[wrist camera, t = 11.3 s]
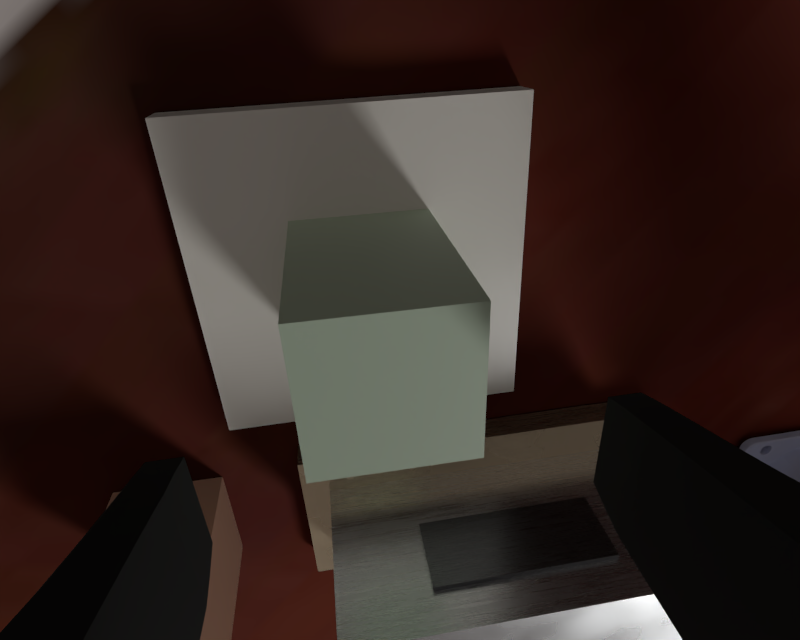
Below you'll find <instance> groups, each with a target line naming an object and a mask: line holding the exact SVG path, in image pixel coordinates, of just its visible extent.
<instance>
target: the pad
mask: <svg viewBox="0 0 800 640" xmlns="http://www.w3.org/2000/svg"><path fill="white" fill-rule="evenodd" d="M533 95H534V89H530V88H526V87H522V86H515V87H501V88H487V89H474V90H460V91H446V92H432V93H419V94H405V95H391V96H378V97H364V98H350V99H337V100H323V101H309V102H295V103H282V104H268V105H254V106H241V107H227V108H213V109H199V110H186V111H172V112H158V113H154V114H152V115H150V116H148V117H146V118H145V121H146V124H147V128H148V132H149V135H150V139H151V143H152V146H153V150H154V154H155V158H156V161H157V165H158V169H159V172H160V176H161V180H162V183H163V187H164V191H165V195H166V198H167V202H168V206H169V209H170V213H171V217H172V220H173V224H174V228H175V232H176V235H177V239H178V243H179V246H180V250H181V254H182V257H183V261H184V265H185V269H186V272H187V276H188V280H189V283H190V287H191V291H192V294H193V298H194V302H195V306H196V309H197V313H198V317H199V320H200V324H201V328H202V331H203V335H204V339H205V343H206V346H207V350H208V354H209V357H210V361H211V365H212V369H213V372H214V376H215V380H216V383H217V387H218V391H219V394H220V398H221V402H222V406H223V409H224V413H225V417H226V420H227V424H228V428H229V430H236V429H244V428H251V427H258V426H265V425H273V424H280V423H287V422H294V421H295V417H294V411H293V405H292V400H291V394H290V389H289V383H288V377H287V372H286V366H285V361H284V355H283V350H282V344H281V338H280V333H279V327H278V320H279V309H280V299H281V289H282V279H283V269H284V259H285V248H286V238H287V228H288V221H295V220H306V219H317V218H329V217H340V216H351V215H362V214H373V213H385V212H396V211H407V210H418V209H429V210H430V212H431V213H432V215H433V216H434V218H435V219H436V221H437V222H438V224H439V225H440V226H441V228H442V229H443V231H444V232H445V234H446V235H447V237H448V238H449V240H450V241H451V243H452V244H453V246H454V247H455V249H456V250H457V251H458V253H459V254H460V256H461V257H462V259H463V260H464V262H465V263H466V265H467V266H468V268H469V269H470V271H471V272H472V273H473V275H474V276H475V278H476V279H477V281H478V282H479V284H480V285H481V287H482V288H483V290H484V291H485V293H486V294H487V296H488V297H489V298H490V300H491V314H490V336H489V358H488V379H487V395H490V394H497V393H504V392H512V391H514V379H515V364H516V349H517V334H518V319H519V304H520V289H521V274H522V259H523V244H524V229H525V214H526V200H527V185H528V170H529V155H530V140H531V125H532V110H533Z"/></svg>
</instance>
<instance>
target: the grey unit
mask: <svg viewBox="0 0 800 640" xmlns="http://www.w3.org/2000/svg"><path fill="white" fill-rule="evenodd" d="M606 407H607V402H604V403H597V404H590V405H583V406H577V407H570V408H563V409H556V410H549V411H542V412H535V413H528V414H521V415H514V416H507V417H500V418H493V419H486V423H485V445H484V458H479V459H472V460H465V461H458V462H451V463H444V464H437V465H430V466H423V467H417V468H410V469H403V470H396V471H389V472H382V473H375V474H368V475H362V476H355V477H348V478H341V479H334V480H327V481H320V482H313V483H306V478H305V473H304V467H303V461H302V456H301V450H300V446H298V459H297V466H298V471H299V476H300V481H301V486H302V491H303V496H304V502H305V507H306V512H307V517H308V522H309V527H310V532H311V537H312V542H313V547H314V552H315V557H316V562H317V568H318V572H319V571H325V570H331V569H334V584H335V604H336V624H337V640H682V638H681V636H680V635H679V633H678V632H677V630H676V628H675V627H674V625H673V624H672V622H671V621H670V619H669V617H668V616H667V614H666V613H665V611H664V609H663V608H662V606H661V605H660V603H659V601H658V600H657V598H656V597H655V595H654V593H653V592H652V590H651V589H650V587H649V585H648V584H647V582H646V581H645V579H644V577H643V576H642V574H641V573H640V571H639V569H638V568H637V566H636V564H635V563H634V561H633V560H632V558H631V556H630V555H629V553H628V551H627V550H626V548H625V546H624V545H623V543H622V541H621V540H620V538H619V536H618V534H617V532H616V530H615V528H614V526H613V524H612V522H611V520H610V518H609V516H608V514H607V512H606V510H605V507H604V505H603V503H602V501H601V498H600V496H599V494H598V492H597V489H596V487H595V485H594V483H593V481H594V475H595V469H596V464H597V458H598V452H599V447H600V441H601V435H602V429H603V424H604V418H605V412H606Z"/></svg>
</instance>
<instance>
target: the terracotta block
mask: <svg viewBox="0 0 800 640" xmlns="http://www.w3.org/2000/svg"><path fill="white" fill-rule="evenodd" d="M192 482H193V485H194V488H195V491H196V494H197V497H198V500H199V503H200V506H201V509H202V512H203V515H204V518H205V521H206V524H207V527H208V530H209V533H210V536H211V539H212V542H213V546H212V558H211V570H210V581H209V590H208V600H207V608H206V613H205V618H204V623H203V628H202V632H201V637H200V640H231V636H232V628H233V620H234V612H235V604H236V596H237V588H238V580H239V572H240V564H241V556H242V548H243V546H242V542H241V539H240V535H239V532H238V528H237V525H236V521H235V518H234V515H233V511H232V508H231V504H230V501H229V497H228V494H227V490H226V487H225V484H224V480H223V477H218V478H211V479H204V480H197V481H192ZM119 493H120V492H114V493H112V496H111V498H110V501H109V503H108V505H107V508H108V506H109V505H110V504H111V503H112V502H113V500H114V499H115V498H116V497H117V495H118V494H119ZM107 508H106V509H107Z"/></svg>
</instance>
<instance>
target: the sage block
mask: <svg viewBox="0 0 800 640" xmlns="http://www.w3.org/2000/svg"><path fill="white" fill-rule="evenodd" d="M490 314H491V300H490V298H489V297H488V296H487V294H486V293H485V291H484V290H483V288H482V287H481V285H480V284H479V282H478V281H477V279H476V278H475V276H474V275H473V273H472V272H471V271H470V269H469V268H468V266H467V265H466V263H465V262H464V260H463V259H462V257H461V256H460V254H459V253H458V251H457V250H456V249H455V247H454V246H453V244H452V243H451V241H450V240H449V238H448V237H447V235H446V234H445V232H444V231H443V229H442V228H441V226H440V225H439V224H438V222H437V221H436V219H435V218H434V216H433V215H432V213H431V212H430V210H429V209H418V210H407V211H396V212H385V213H373V214H362V215H351V216H340V217H329V218H317V219H306V220H295V221H288V228H287V238H286V248H285V259H284V269H283V279H282V289H281V299H280V309H279V320H278V327H279V333H280V338H281V344H282V350H283V355H284V361H285V366H286V372H287V377H288V383H289V389H290V394H291V400H292V405H293V411H294V417H295V422H296V428H297V433H298V439H299V445H300V450H301V456H302V461H303V467H304V473H305V478H306V483H313V482H320V481H327V480H334V479H341V478H348V477H355V476H362V475H368V474H375V473H382V472H389V471H396V470H403V469H410V468H417V467H423V466H430V465H437V464H444V463H451V462H458V461H465V460H472V459H479V458H484V445H485V423H486V401H487V379H488V358H489V336H490Z"/></svg>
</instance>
